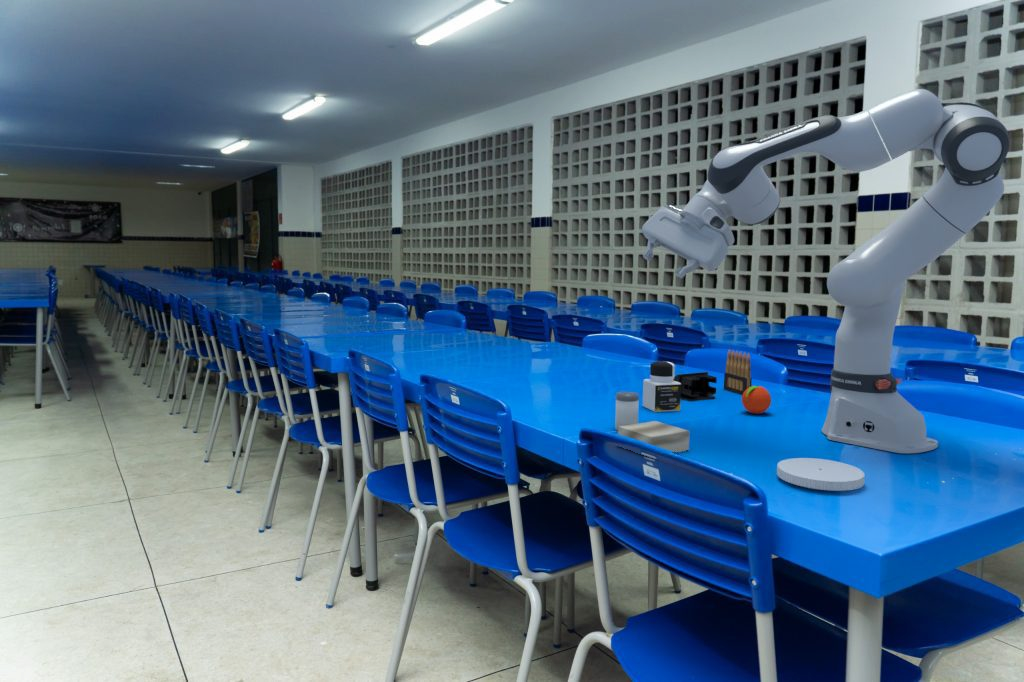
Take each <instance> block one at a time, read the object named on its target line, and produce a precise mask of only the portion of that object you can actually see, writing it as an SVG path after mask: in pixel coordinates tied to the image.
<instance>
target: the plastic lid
mask: <svg viewBox="0 0 1024 682" xmlns="http://www.w3.org/2000/svg"><path fill="white" fill-rule="evenodd" d="M776 475H777V477H778V478H780V479H781V480H783V481H785V482H787V483H790V484H793V485H796V486H800V487H803V488H808V489H813V490H821V491H823V490H824V491H837V492H838V491H839V492H842V491H852V490H858V489H861V488H862V487H863V486H864V485H865V480H866V479H865V478H866V476H865V472H864V471H863V470H862V469H860V468H858V467H856V466H854V465H851V464H847V463H844V462H841V461H835V460H831V459H824V458H815V457H814V458H813V457H810V458H809V457H797V458H796V457H794V458H786V459H782V460H780V461H779V462H778V463H777V465H776Z"/></svg>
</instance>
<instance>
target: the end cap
mask: <svg viewBox="0 0 1024 682" xmlns="http://www.w3.org/2000/svg"><path fill="white" fill-rule="evenodd" d="M717 379H718V378H717V376H713V375H710V374H709V373H708V371H703V372H692V373H691V372H690V373H680V374H676V375H675V376H674V379H673V380H674V381H676V382H679V383H681V400H683V401H687V402H697V401H706V400H715V399H716V396H715V395H716V394H717V387H713V386H710V383H712V384H717V381H718V380H717Z"/></svg>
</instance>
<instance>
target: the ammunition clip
mask: <svg viewBox="0 0 1024 682" xmlns="http://www.w3.org/2000/svg"><path fill="white" fill-rule="evenodd" d="M751 370H752V369H751V355H750V353H749V352H748V353H747V354H746V352H743V354H742V351H741V350H740V351H739V352H738V350H736V351H735V350H734V349H732V350H731V348H729V349H728V350H727V356H726V363H725V372H723V373H724V378H723V391H727V392H730V393H734V394H736V395H739V396H742V395H743V393H744V391H745V390H746V389H747V388H749V387H751V386H752V380H753V379H752V377H751V373H752V371H751Z"/></svg>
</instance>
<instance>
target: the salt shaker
mask: <svg viewBox="0 0 1024 682" xmlns="http://www.w3.org/2000/svg"><path fill="white" fill-rule="evenodd" d="M639 395H640V394H639V393H638V392H632V391H620V392H619V391H618V392H616V393H615V419H614V420H615V421H614V422H615V425H614V430H616V431H618V427H619V426H625V425H632V424H638V423H639V399H640V398H639V397H640V396H639Z"/></svg>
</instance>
